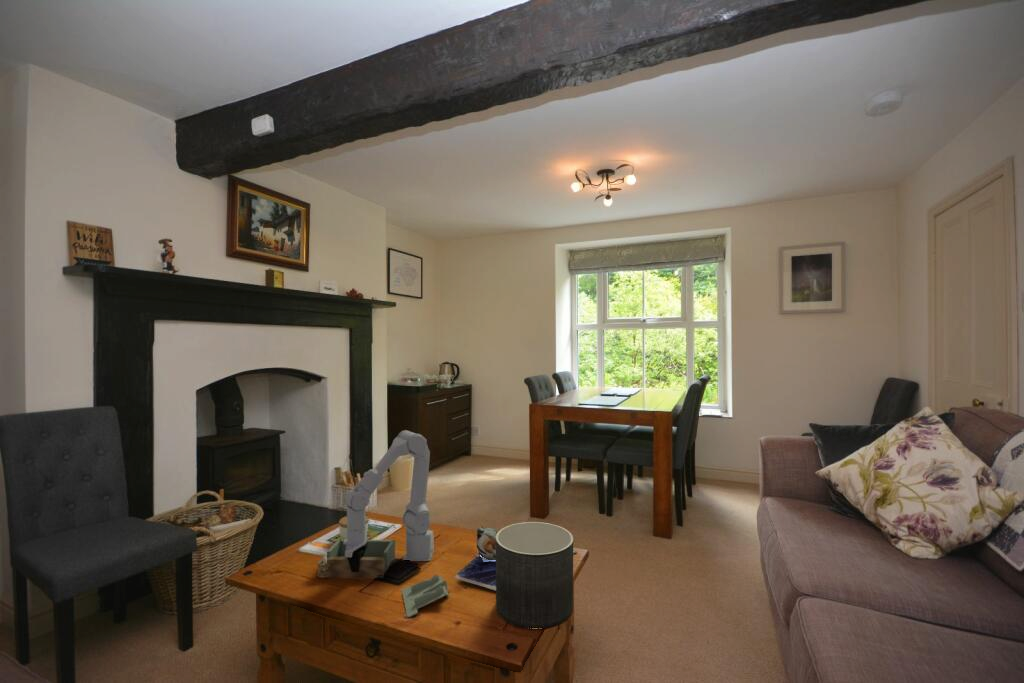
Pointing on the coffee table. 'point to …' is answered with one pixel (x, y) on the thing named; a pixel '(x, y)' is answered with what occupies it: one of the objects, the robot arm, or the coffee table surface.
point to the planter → (534, 575)
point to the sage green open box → (373, 550)
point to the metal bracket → (423, 594)
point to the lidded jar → (344, 526)
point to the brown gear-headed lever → (341, 568)
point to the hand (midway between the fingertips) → (356, 569)
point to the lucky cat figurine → (486, 542)
